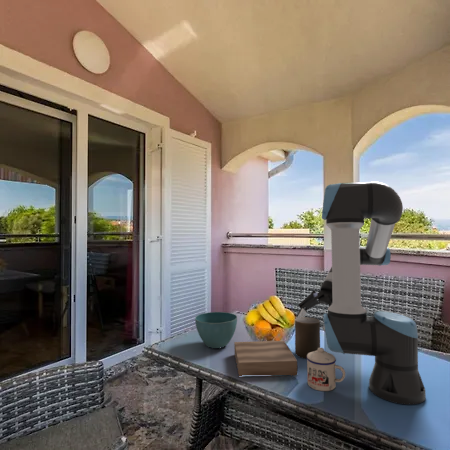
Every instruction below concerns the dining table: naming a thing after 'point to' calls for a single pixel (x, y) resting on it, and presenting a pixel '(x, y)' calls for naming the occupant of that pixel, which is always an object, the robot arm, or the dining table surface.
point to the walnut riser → (264, 358)
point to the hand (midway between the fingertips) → (310, 326)
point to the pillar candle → (306, 336)
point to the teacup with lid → (322, 370)
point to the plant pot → (216, 328)
